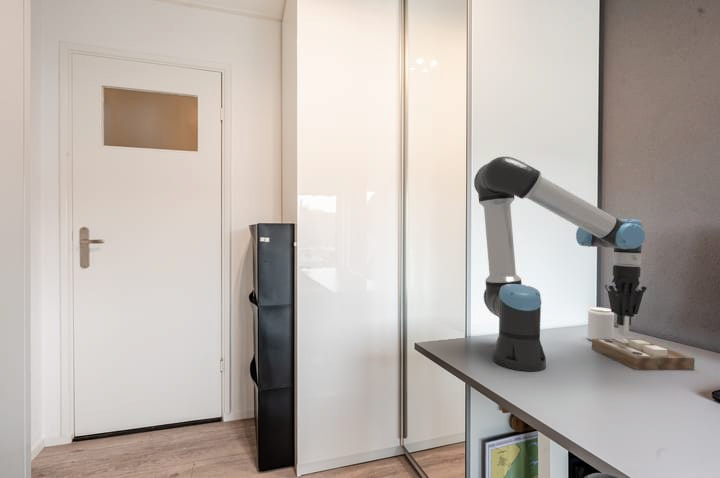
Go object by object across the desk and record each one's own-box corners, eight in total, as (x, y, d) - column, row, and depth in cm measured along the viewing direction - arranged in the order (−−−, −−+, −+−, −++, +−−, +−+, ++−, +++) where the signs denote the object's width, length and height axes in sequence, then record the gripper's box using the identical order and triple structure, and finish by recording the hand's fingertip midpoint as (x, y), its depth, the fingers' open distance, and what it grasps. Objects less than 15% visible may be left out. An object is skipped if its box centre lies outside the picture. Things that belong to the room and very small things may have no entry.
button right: (654, 360, 108) (654, 349, 108) (643, 356, 112) (643, 345, 112) (667, 360, 108) (667, 349, 108) (655, 356, 112) (656, 345, 112)
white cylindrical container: (618, 344, 131) (619, 311, 131) (596, 343, 131) (597, 311, 131) (604, 337, 139) (604, 306, 139) (583, 337, 139) (583, 306, 139)
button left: (623, 352, 120) (623, 342, 120) (614, 349, 124) (614, 339, 124) (634, 352, 120) (635, 342, 120) (625, 349, 124) (625, 339, 124)
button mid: (638, 354, 114) (638, 343, 114) (628, 350, 118) (628, 339, 118) (650, 354, 114) (650, 343, 114) (639, 349, 118) (640, 339, 118)
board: (635, 369, 106) (635, 357, 106) (591, 348, 125) (591, 338, 125) (694, 369, 107) (694, 356, 107) (641, 348, 126) (642, 338, 126)
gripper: (616, 265, 117) (612, 337, 118) (654, 266, 118) (651, 338, 118) (600, 263, 125) (596, 331, 125) (636, 264, 125) (633, 331, 126)
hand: (623, 334), depth 122 cm, fingers closed
